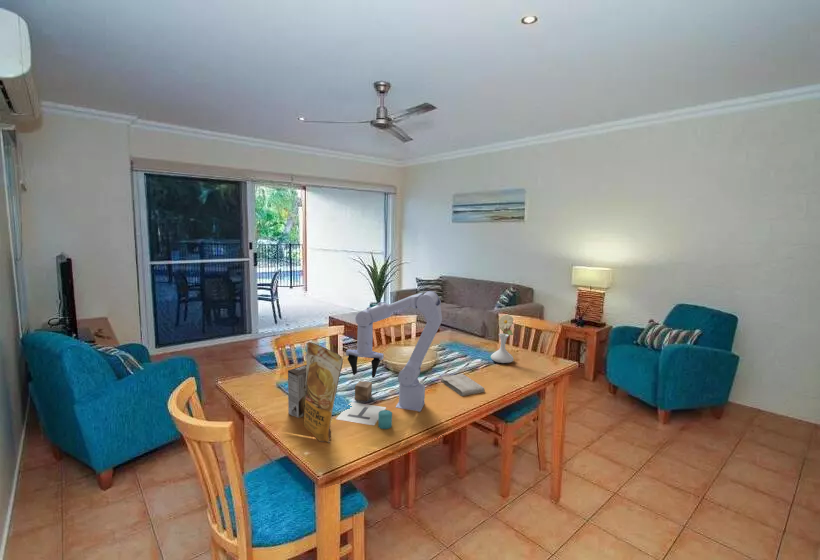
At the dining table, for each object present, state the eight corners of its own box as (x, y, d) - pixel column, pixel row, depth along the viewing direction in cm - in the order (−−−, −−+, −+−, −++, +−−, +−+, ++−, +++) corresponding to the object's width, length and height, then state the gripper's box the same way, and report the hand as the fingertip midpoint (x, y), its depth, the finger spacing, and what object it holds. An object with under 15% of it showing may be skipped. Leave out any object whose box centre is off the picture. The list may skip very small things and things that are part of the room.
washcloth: (461, 377, 185) (461, 371, 184) (485, 393, 169) (486, 386, 168) (438, 381, 179) (438, 375, 179) (462, 398, 163) (462, 390, 163)
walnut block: (371, 397, 160) (371, 382, 159) (367, 402, 155) (367, 387, 154) (359, 395, 161) (359, 380, 160) (354, 400, 156) (355, 385, 155)
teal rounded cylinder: (393, 425, 139) (393, 411, 138) (389, 431, 135) (389, 417, 134) (380, 423, 140) (381, 409, 139) (376, 429, 136) (376, 415, 135)
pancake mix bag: (315, 417, 142) (315, 339, 138) (343, 440, 128) (345, 354, 124) (296, 422, 138) (296, 342, 134) (324, 447, 124) (325, 358, 120)
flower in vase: (486, 358, 211) (489, 310, 207) (505, 356, 214) (509, 310, 211) (499, 367, 199) (502, 316, 195) (519, 365, 202) (523, 316, 198)
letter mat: (386, 408, 151) (386, 407, 151) (374, 426, 137) (374, 425, 137) (350, 403, 154) (351, 401, 154) (335, 420, 140) (335, 419, 140)
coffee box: (308, 405, 151) (308, 363, 149) (319, 410, 147) (320, 367, 145) (287, 413, 144) (287, 369, 142) (298, 419, 140) (298, 374, 138)
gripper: (342, 341, 153) (342, 376, 155) (379, 346, 150) (378, 381, 152) (350, 336, 160) (349, 370, 162) (385, 340, 156) (384, 374, 158)
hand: (364, 375), depth 157 cm, fingers open, 7 cm apart
